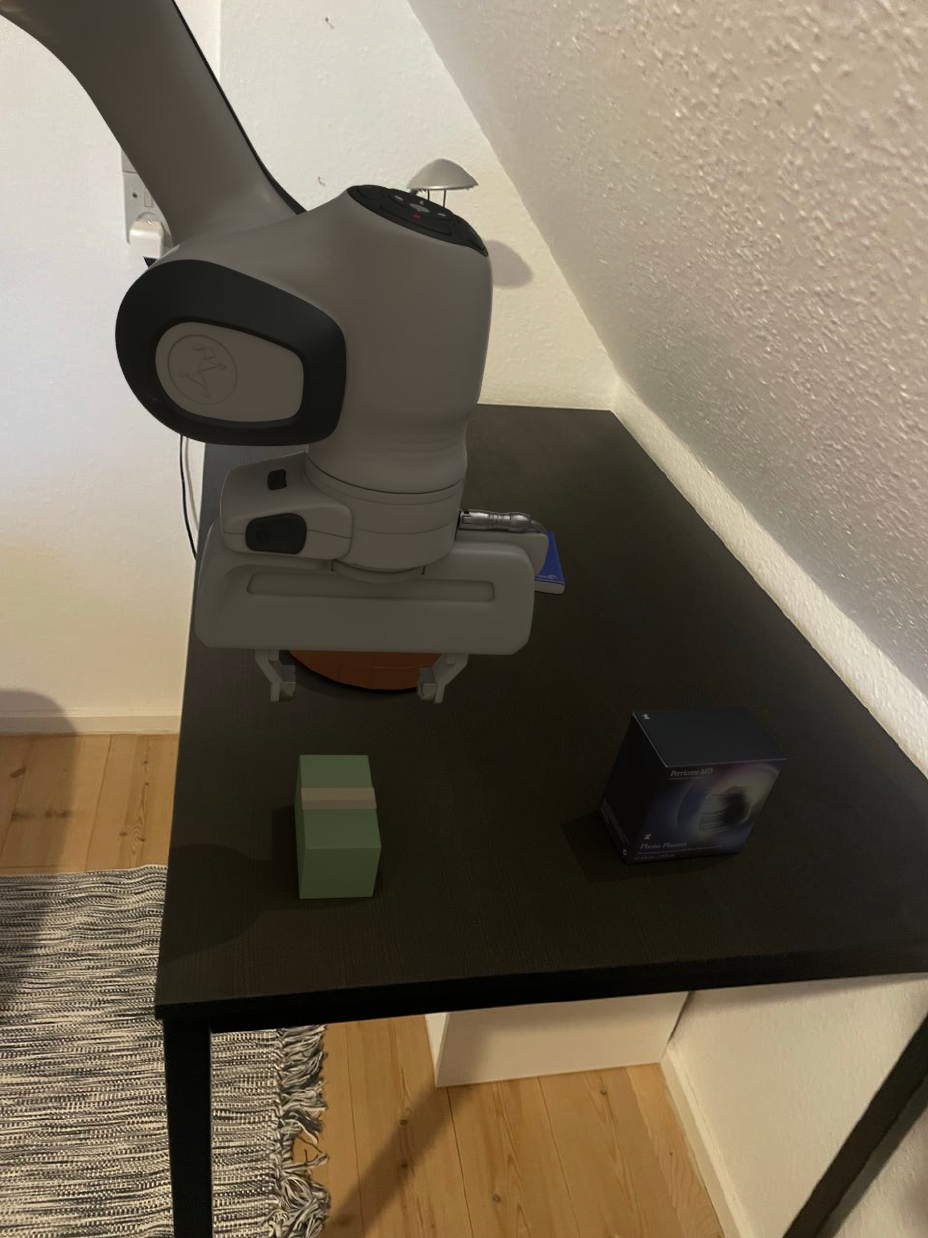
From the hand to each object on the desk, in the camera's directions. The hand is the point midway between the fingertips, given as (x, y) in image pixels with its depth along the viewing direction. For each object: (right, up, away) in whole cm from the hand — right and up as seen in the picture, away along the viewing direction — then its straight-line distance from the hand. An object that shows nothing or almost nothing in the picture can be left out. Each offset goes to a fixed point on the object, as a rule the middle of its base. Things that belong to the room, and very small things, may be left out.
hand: (356, 696), depth 61 cm
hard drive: (+14, +11, +49) cm, 52 cm away
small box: (+23, -12, +15) cm, 30 cm away
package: (-3, -12, +8) cm, 14 cm away
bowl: (-2, +3, +31) cm, 31 cm away
